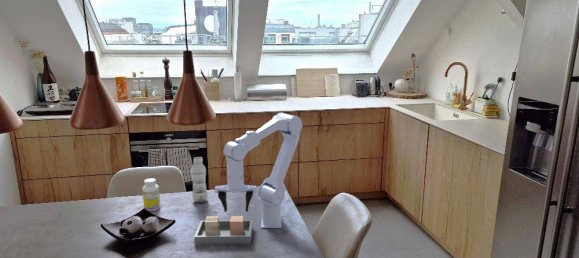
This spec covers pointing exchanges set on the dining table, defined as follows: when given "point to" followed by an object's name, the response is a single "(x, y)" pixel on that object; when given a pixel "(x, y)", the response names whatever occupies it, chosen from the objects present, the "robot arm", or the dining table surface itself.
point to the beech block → (212, 226)
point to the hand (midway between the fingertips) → (236, 210)
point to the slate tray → (223, 235)
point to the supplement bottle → (151, 195)
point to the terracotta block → (237, 225)
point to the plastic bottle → (199, 180)
